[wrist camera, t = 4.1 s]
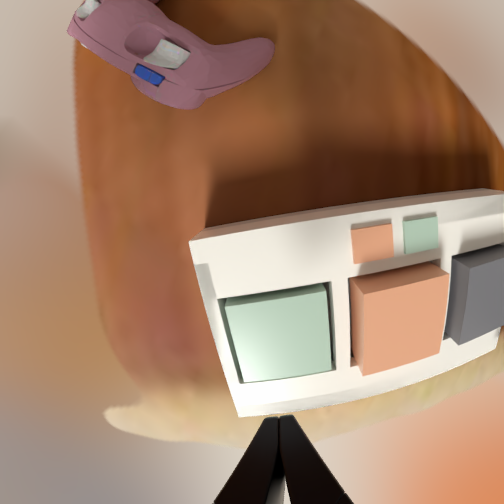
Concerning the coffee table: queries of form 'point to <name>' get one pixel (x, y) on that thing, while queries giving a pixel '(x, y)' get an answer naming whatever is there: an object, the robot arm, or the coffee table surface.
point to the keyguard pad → (340, 283)
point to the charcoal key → (475, 293)
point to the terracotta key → (397, 316)
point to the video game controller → (165, 52)
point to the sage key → (281, 332)
